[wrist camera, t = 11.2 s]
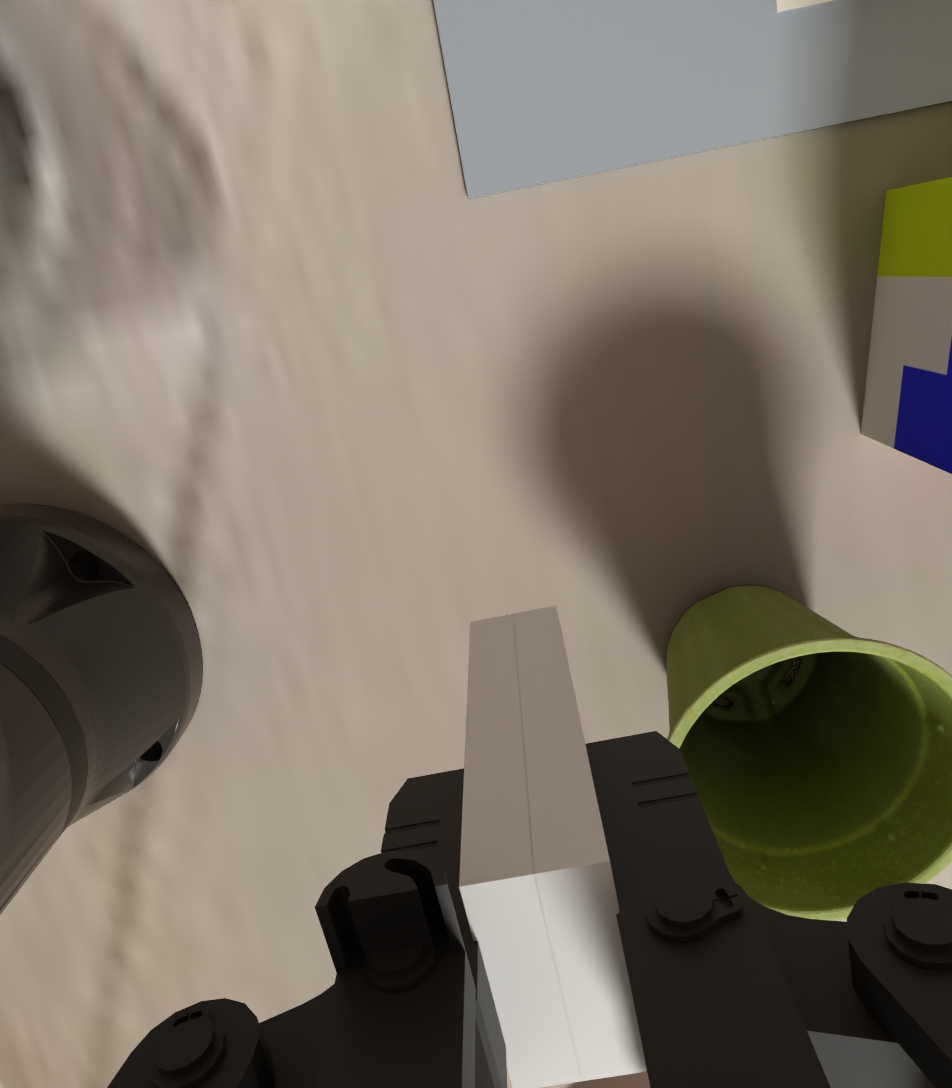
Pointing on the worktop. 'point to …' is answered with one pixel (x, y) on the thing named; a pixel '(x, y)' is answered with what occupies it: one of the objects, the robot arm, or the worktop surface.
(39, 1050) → the worktop surface
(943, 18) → the card
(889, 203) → the puzzle toy
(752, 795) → the plant pot
